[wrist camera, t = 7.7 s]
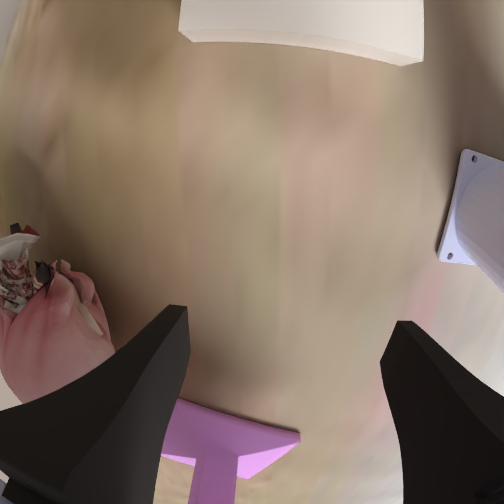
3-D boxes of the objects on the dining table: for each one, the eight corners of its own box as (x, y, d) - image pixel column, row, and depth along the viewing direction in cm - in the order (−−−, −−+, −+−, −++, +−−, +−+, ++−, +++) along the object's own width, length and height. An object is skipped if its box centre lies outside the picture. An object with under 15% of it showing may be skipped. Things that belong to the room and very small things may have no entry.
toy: (-21, 232, 19) (42, 368, 25) (-92, 282, 9) (14, 447, 15) (86, 191, 21) (142, 349, 27) (27, 228, 11) (139, 441, 17)
